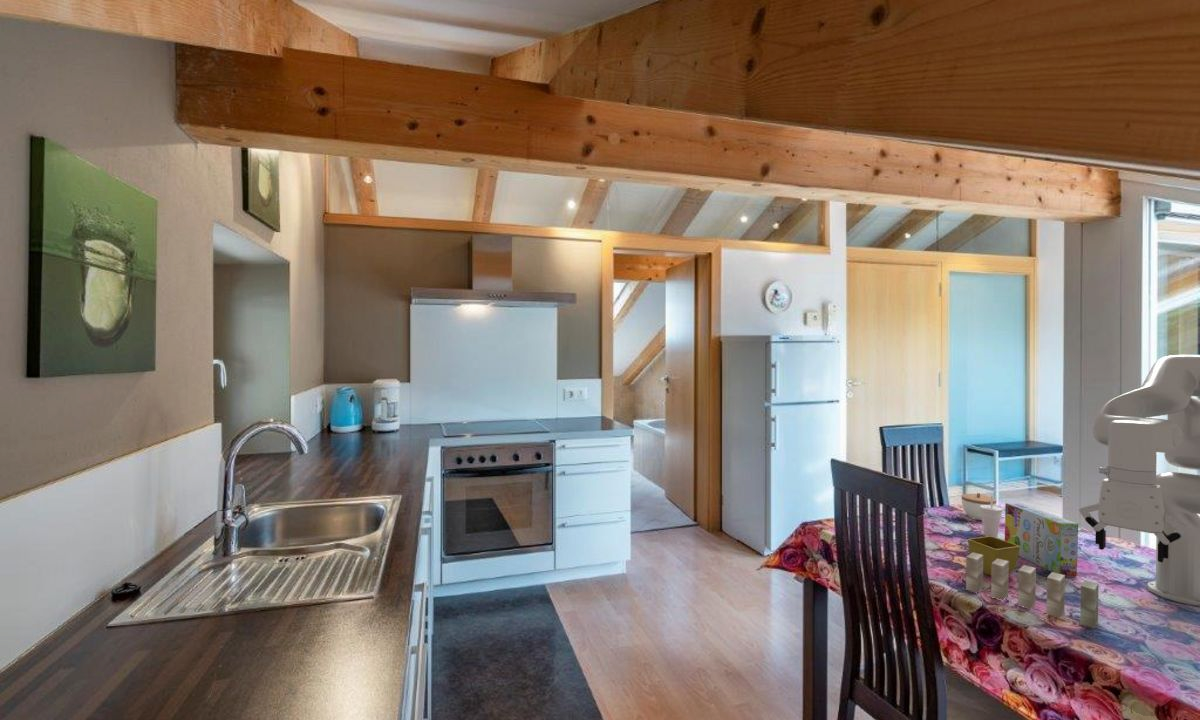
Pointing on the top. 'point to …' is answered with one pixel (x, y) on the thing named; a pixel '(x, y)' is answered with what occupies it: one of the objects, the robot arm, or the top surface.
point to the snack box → (1043, 538)
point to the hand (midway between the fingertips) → (1130, 554)
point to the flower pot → (994, 551)
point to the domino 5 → (1089, 604)
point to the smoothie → (991, 519)
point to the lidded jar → (975, 504)
